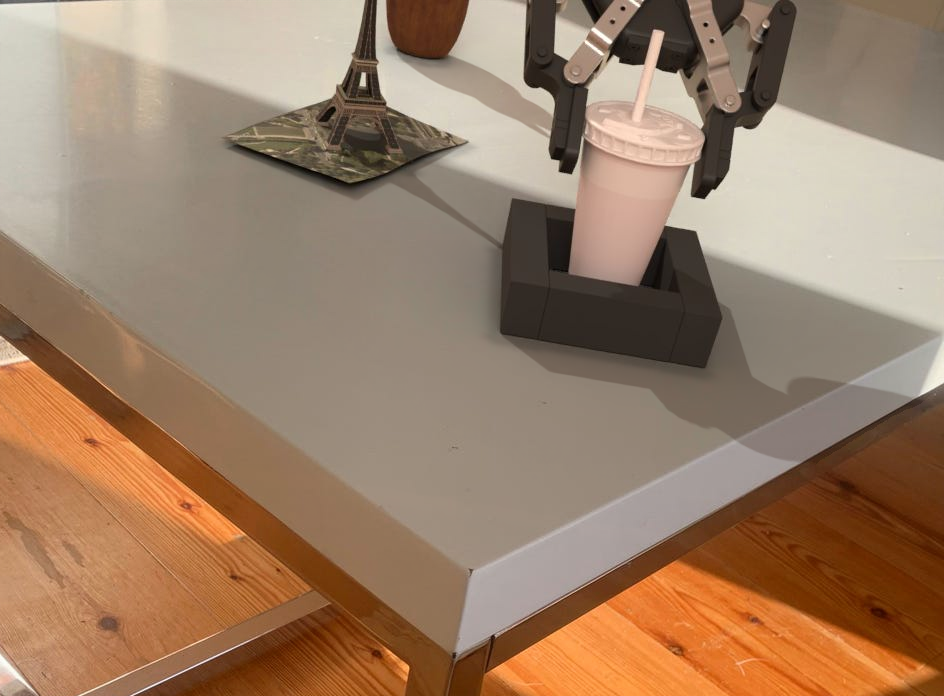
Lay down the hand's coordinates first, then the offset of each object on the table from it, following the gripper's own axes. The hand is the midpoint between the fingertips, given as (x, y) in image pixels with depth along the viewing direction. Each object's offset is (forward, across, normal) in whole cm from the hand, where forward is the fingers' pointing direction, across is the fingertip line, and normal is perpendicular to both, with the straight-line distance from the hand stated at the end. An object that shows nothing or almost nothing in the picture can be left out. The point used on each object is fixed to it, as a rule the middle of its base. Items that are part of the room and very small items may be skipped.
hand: (636, 179), depth 57 cm
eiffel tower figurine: (-8, -16, +20) cm, 27 cm away
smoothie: (+4, 0, +6) cm, 8 cm away
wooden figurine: (-25, -13, +37) cm, 46 cm away
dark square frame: (+4, 0, +6) cm, 8 cm away
